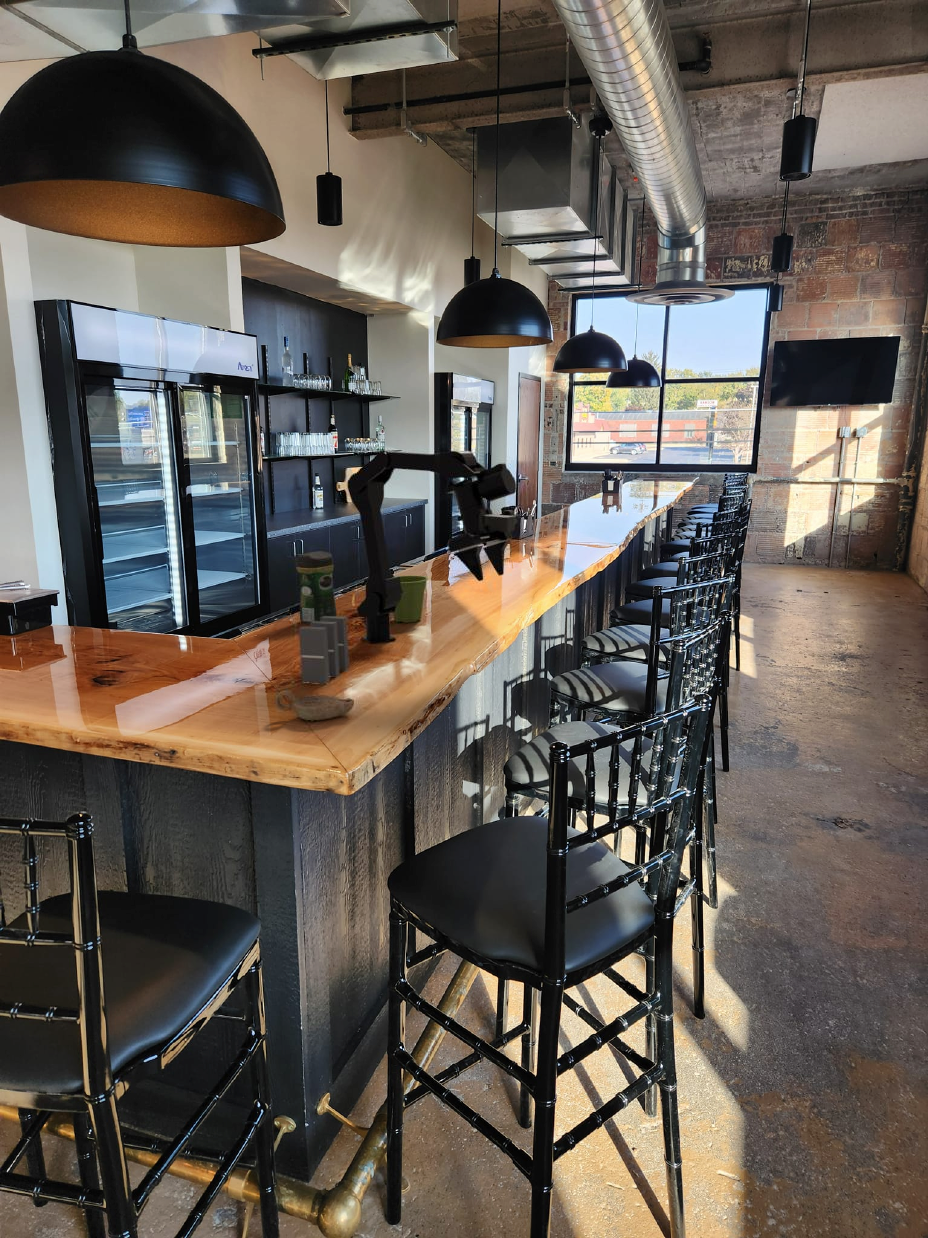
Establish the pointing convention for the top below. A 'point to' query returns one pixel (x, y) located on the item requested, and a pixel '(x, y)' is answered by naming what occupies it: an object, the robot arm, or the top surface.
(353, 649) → the top surface
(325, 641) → the domino
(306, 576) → the coffee jar
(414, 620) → the plant pot
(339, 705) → the oil lamp
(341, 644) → the domino
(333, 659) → the domino
